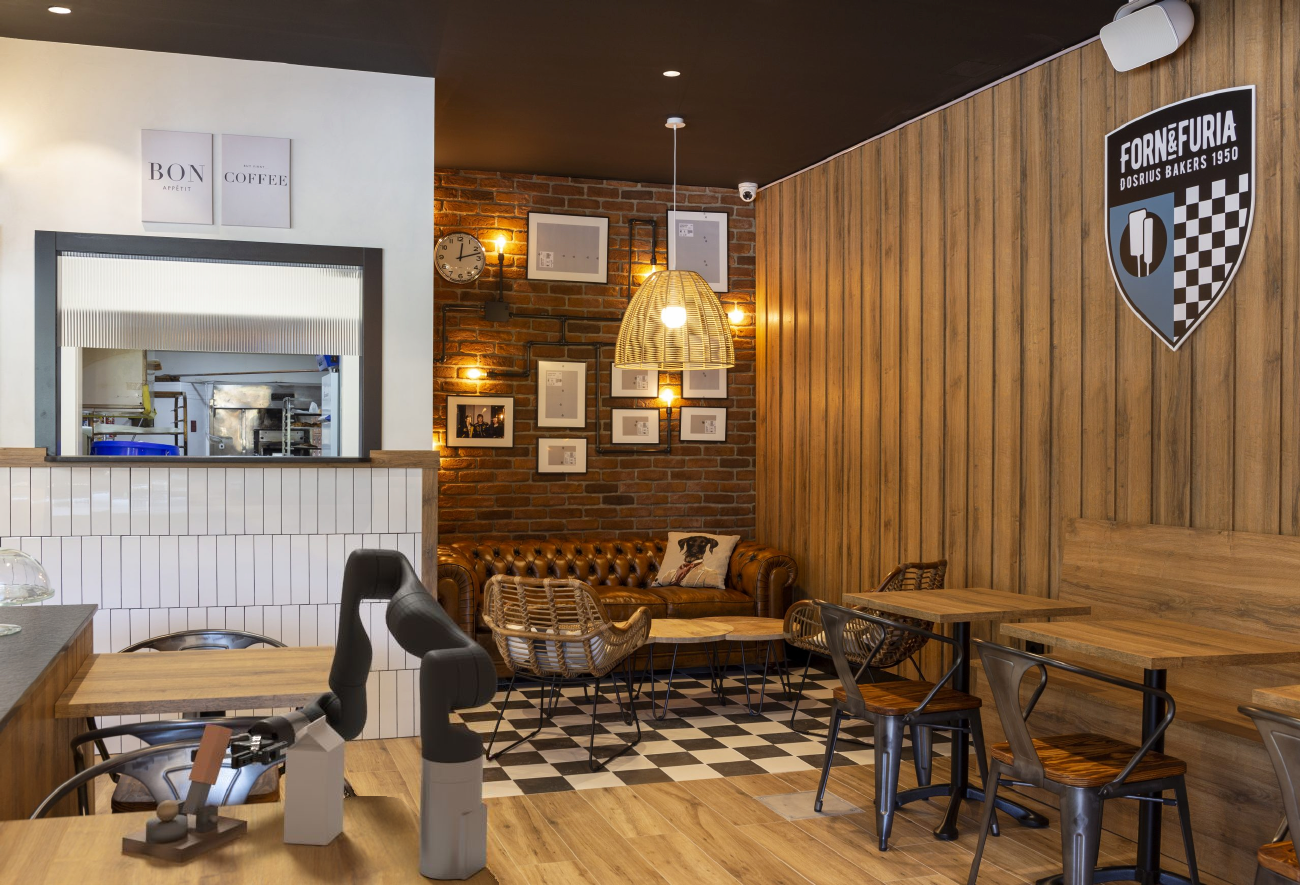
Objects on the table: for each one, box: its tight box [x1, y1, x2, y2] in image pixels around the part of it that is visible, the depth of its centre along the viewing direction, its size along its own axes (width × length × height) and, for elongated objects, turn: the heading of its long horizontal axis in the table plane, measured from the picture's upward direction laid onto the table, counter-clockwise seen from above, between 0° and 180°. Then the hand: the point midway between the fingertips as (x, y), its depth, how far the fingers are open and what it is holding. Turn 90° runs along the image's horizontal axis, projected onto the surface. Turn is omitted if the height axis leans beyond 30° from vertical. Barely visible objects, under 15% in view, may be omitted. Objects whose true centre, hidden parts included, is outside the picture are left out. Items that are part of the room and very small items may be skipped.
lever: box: [181, 723, 233, 815], centre depth 178 cm, size 3×3×14 cm
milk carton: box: [283, 715, 346, 846], centre depth 177 cm, size 7×7×19 cm
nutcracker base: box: [121, 798, 248, 863], centre depth 174 cm, size 12×14×8 cm
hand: (212, 759), depth 179 cm, fingers open, 8 cm apart
